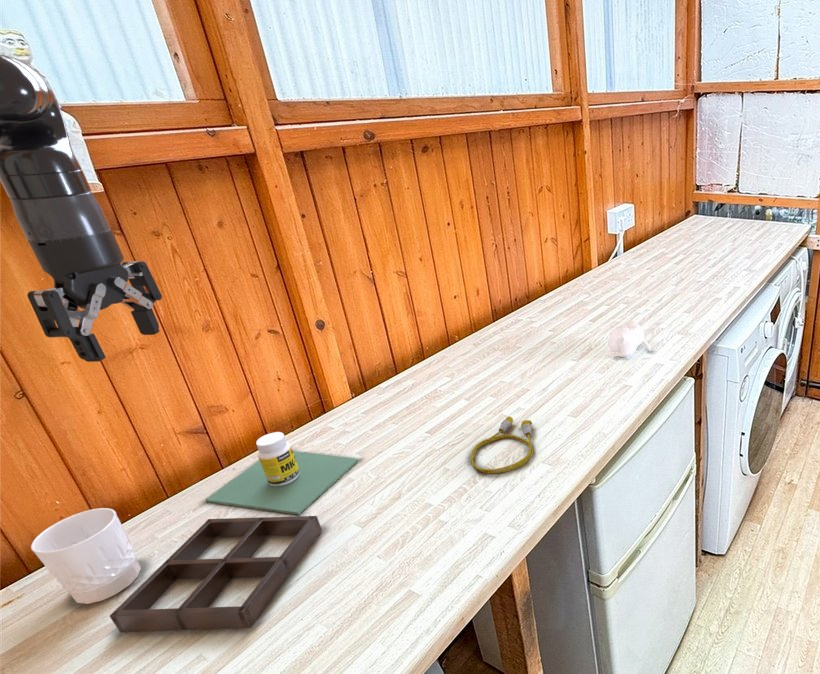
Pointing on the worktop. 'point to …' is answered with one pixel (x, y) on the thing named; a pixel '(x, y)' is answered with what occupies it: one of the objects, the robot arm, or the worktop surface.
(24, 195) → the robot arm
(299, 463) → the drying mat
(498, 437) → the extension cord
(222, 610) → the brown compartment tray
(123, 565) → the white cup
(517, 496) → the worktop surface
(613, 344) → the cat figurine
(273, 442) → the supplement bottle
